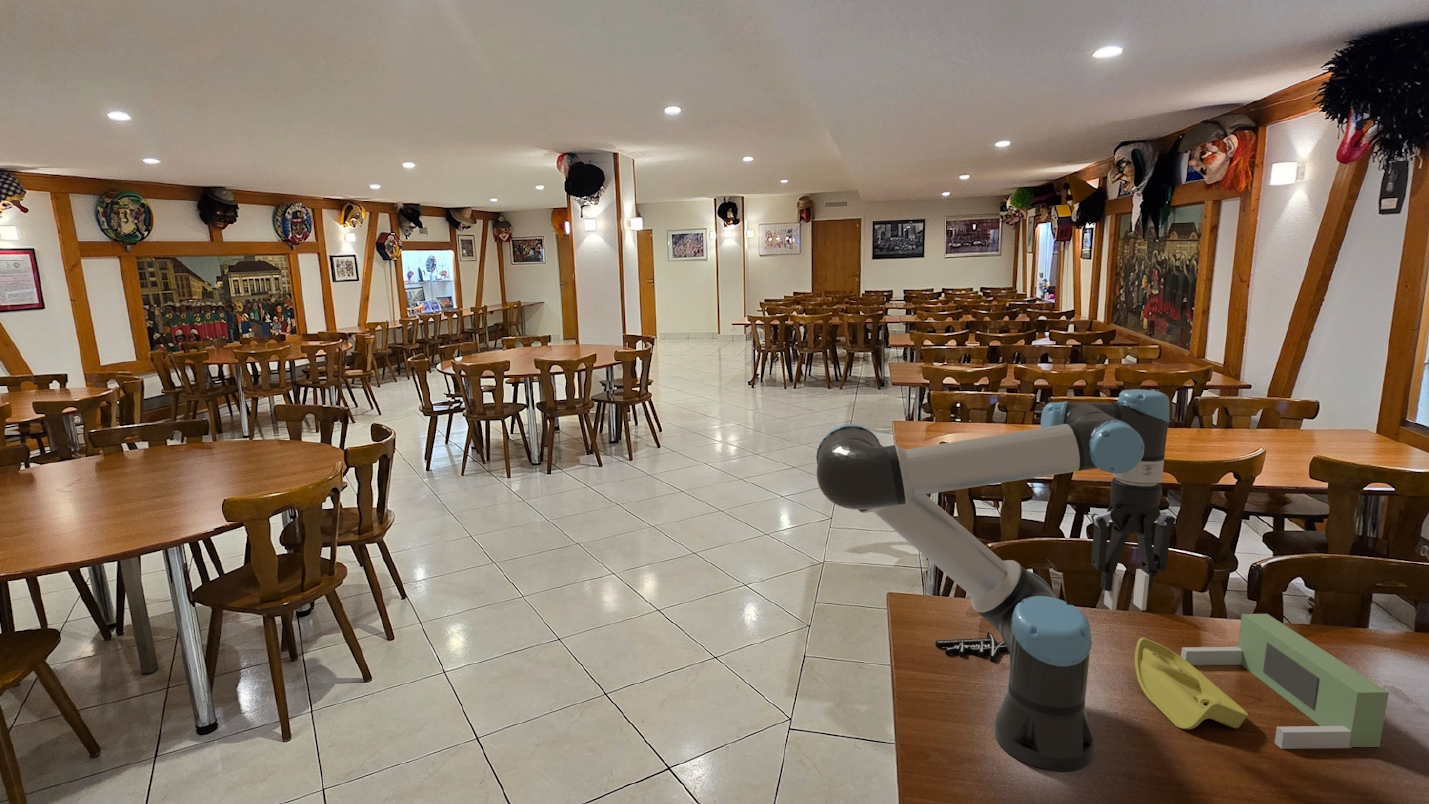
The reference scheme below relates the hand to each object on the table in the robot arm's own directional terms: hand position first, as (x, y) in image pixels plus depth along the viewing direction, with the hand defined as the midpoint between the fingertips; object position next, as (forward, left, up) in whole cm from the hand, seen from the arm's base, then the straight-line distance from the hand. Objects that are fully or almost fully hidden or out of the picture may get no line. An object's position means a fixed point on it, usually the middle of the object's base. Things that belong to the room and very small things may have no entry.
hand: (1124, 606), depth 132 cm
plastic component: (+12, 0, -19) cm, 23 cm away
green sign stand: (+28, 0, -19) cm, 34 cm away
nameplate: (-13, +19, -19) cm, 30 cm away
